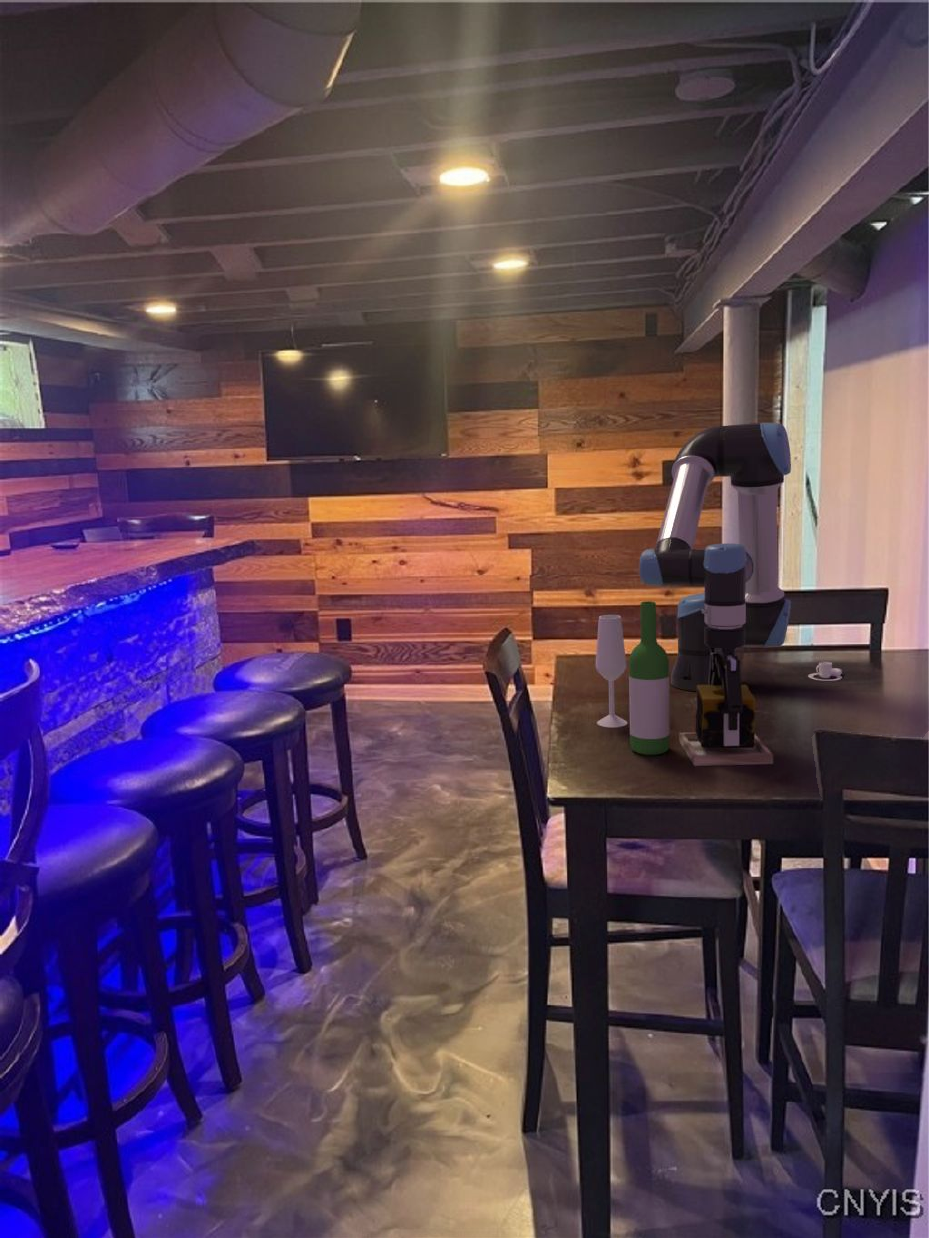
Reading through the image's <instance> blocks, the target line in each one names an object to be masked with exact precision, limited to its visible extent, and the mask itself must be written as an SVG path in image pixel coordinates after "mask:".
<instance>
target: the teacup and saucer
mask: <svg viewBox="0 0 929 1238" xmlns="http://www.w3.org/2000/svg"><path fill="white" fill-rule="evenodd" d="M815 671H816V672H813V673H810V674H808V675H807V677H808V678H809V679H812V680H816V681H822V682H823V681H824V682H833V681H839V680H841V679H843V676H841V675H842V673H843V671H842V669H841V668H837V667H835V668H833V663H832V662H831V661H830V662H829V661H820V662H818V665H817V666H816V667H815ZM817 675H819V677H820V678H822V679H820V678H815V677H814V676H817ZM831 677H836V678H834V679H830V678H831Z"/></svg>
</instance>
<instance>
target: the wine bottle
mask: <svg viewBox="0 0 929 1238" xmlns="http://www.w3.org/2000/svg"><path fill="white" fill-rule="evenodd" d="M656 604H657V603H656V602H655V601H642V602H640V643H639V644H637V645H636V646H635V647H634V648H633V649H632V651H631V653H630V655H629V660H628V669H629V670H628V673H629V674H628V685H629V686H628V691H629V692H628V693H629V694H628V695H629V697H628V698H629V699H628V700H629V701H628V702H629V743H630V748H631V750H632V751H634V752H635V753H637V754H640V755H645V756H646V755H647V756H656V755H657V756H658V755H661V754H664V753H666V752H667V751H668V750H669V749H670V733H671V731H670V661H669V660H670V659H669V656H668V653H667V652H666V650H665V649H664V647H663V646H662V645H660V644H659V643H658V642H657V640H658V639H657V605H656Z"/></svg>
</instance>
